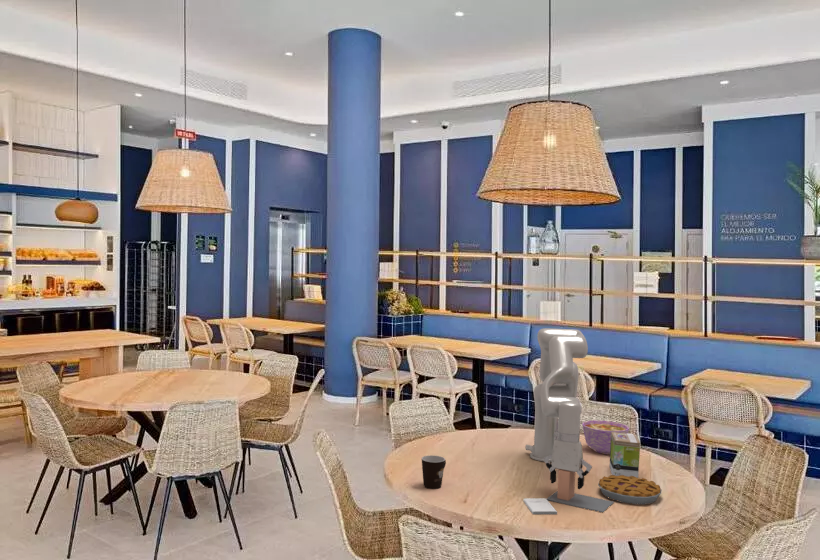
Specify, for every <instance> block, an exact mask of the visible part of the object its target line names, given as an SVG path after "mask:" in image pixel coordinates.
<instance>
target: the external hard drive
mask: <svg viewBox="0 0 820 560" xmlns="http://www.w3.org/2000/svg"><path fill="white" fill-rule="evenodd" d="M522 500H523V503H524V504H525V506H526V507H527V509H528V510H529V512H530V513H531V514H532V515H558V511H557V510H556V508H554V506H553V505H552V504H551V503H550V501H549V500H547V498H543V497H542V498H541V497H539V498H534V497H533V498H532V497H531V498H529V497H528V498H523V499H522Z"/></svg>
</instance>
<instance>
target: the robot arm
mask: <svg viewBox="0 0 820 560" xmlns="http://www.w3.org/2000/svg"><path fill="white" fill-rule="evenodd" d="M537 342H538V344H539V345H538V346H539V347H540V362H539V379H540V381H541V382H542V383H538V384H537V385H536V386H535V387H534V389H533V397H534V410H535V411H534V436H533V438H534V439H533V442H534V443H533V445H531V444H525V446H524V447H525V448H524V449H525V451H530V453H529V458H531V459H533V460H536V461H538V462H544V463H545V467H546V468H547V470H548V471H549V472H550V473H549V474H550V475H549V480H550V484H554V483H556V482H557V470H559V469H561V470H566V471H571V472H575V473H576V474H577V475H578V478H577V490H581V489H583V487H585V476H587V475H588V474H589V473H590V472H591V470H592V469H593V465H591V464H590V463H589V462H587V461H586V460H585V459H584V454H583V453H584V451H583V447H582V446H583V445H582V441H581V440H580V432H581V413H582V412H583V411H582V410H583V407H582V406H583V405H582V402H581V401H580V399H579V398H577V396H578V395H577V393H578V385H579V366H578V365H577V363H576V362H574V359H584V358H586V357H587V355H588V351H589V346H588V342H587V339H586V336H585V335H584V334H583V332H582V331H581V330H579V329H571V328H570V329H569V328H566V329H565V328H553V327H552V328H548V327H547V328H545V327H544V328H540V329H539V330H538V331H537ZM583 467H585V468H586V469H585V470H583Z"/></svg>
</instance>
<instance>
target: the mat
mask: <svg viewBox="0 0 820 560" xmlns="http://www.w3.org/2000/svg"><path fill="white" fill-rule="evenodd" d="M557 494H558V490H556V491H555V492H553V493H552V494H550V495H549V496H548V497H547V498H546V499H547V500H548V502H553V503H559V504H562V505H566V506H571V507H576V508H580V509H584V508H585V509H584V510H588V509H589V510H588V511H592V510H595V511H594V512H597V511H599V512H598V513H601V512H604V511H605V510H606V509H607V508H608V507H609V506H610V507H611V506H612V505H613V504H615V501H611V500H608V499H604V498H603V499H602V498H598V497H592V496H589V495H584V494H580V493H576V492H575V493H574V497H572V498H571V499H570V500H569V501H568V500H563V499H559V498H557ZM610 507H609V508H610ZM609 508H608V509H609ZM608 509H607V510H608ZM607 510H606V511H607ZM606 511H605V512H606ZM605 512H604V513H605Z"/></svg>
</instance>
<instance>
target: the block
mask: <svg viewBox="0 0 820 560" xmlns="http://www.w3.org/2000/svg"><path fill="white" fill-rule="evenodd" d="M557 470H558V473H557V474H558V475H557V479H558V480H557V491H558V494H557V498H559V499H563V500H568V501H569V500H570V499H571V498H572V497H574V493H576V492H575V490H576V489H575V486H576V472H571V471H566V470H561V469H557Z"/></svg>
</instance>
